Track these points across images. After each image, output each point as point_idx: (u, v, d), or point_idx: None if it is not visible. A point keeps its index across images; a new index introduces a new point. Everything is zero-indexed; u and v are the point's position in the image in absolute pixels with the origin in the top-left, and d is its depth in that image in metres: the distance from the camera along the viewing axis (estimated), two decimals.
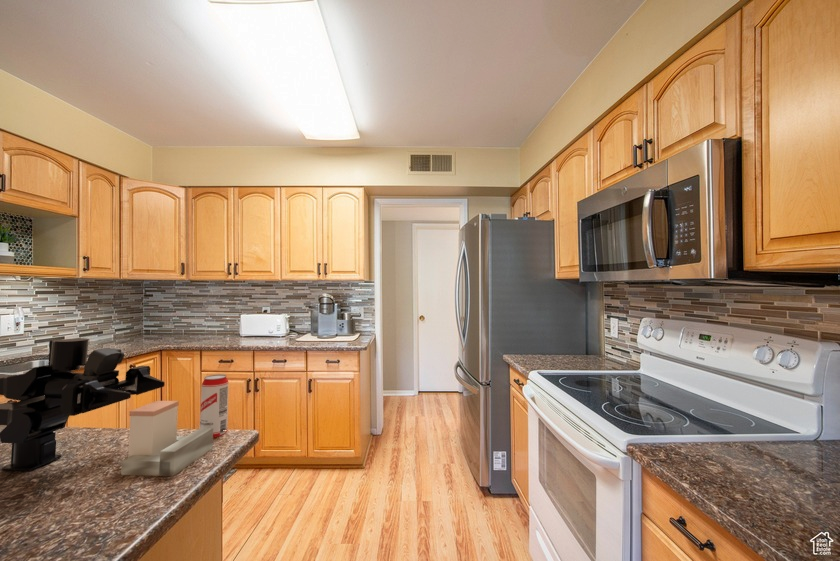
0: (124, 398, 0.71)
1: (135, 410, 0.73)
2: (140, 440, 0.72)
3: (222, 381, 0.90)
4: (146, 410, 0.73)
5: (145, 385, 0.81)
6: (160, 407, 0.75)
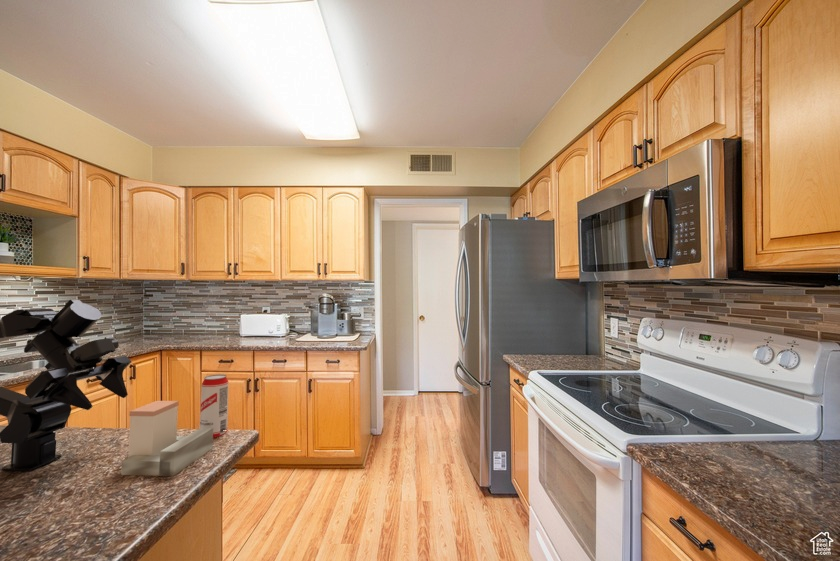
0: (84, 407, 0.71)
1: (135, 410, 0.73)
2: (140, 440, 0.72)
3: (222, 381, 0.90)
4: (146, 410, 0.73)
5: (111, 383, 0.81)
6: (160, 407, 0.75)
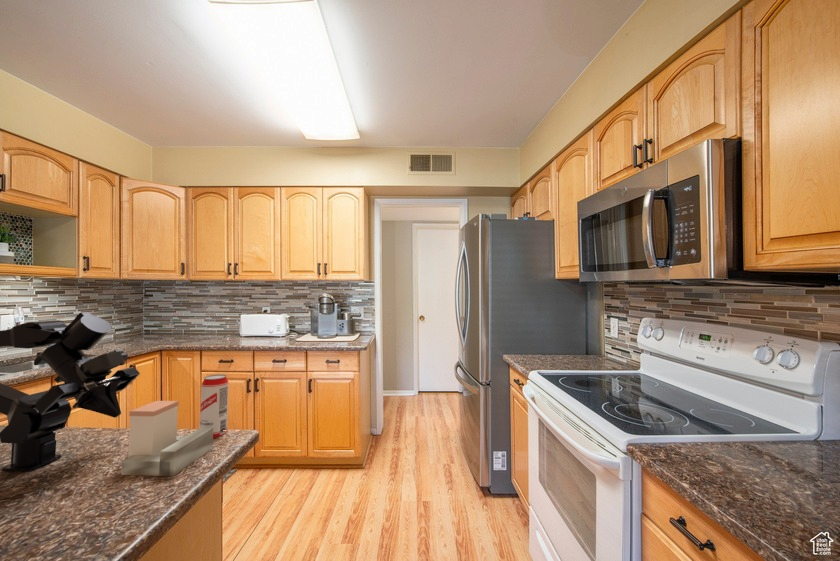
0: (111, 415, 0.75)
1: (135, 410, 0.73)
2: (140, 440, 0.72)
3: (222, 381, 0.90)
4: (146, 410, 0.73)
5: None
6: (160, 407, 0.75)
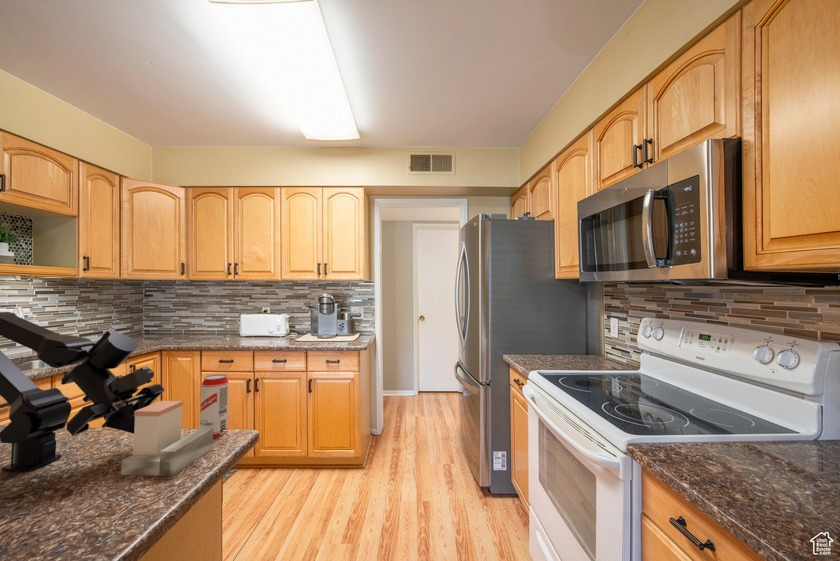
0: None
1: (140, 410, 0.73)
2: (144, 440, 0.72)
3: (222, 381, 0.90)
4: (151, 410, 0.73)
5: None
6: (165, 407, 0.75)
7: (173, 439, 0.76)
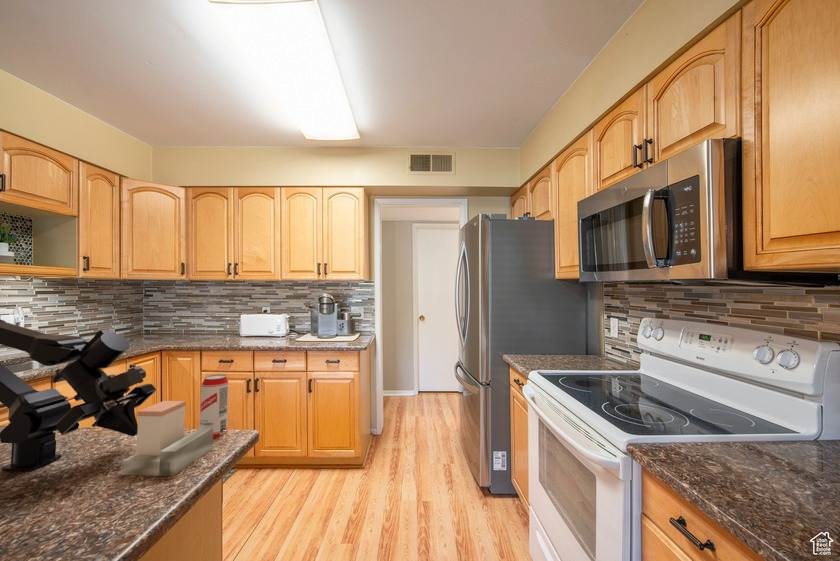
0: (130, 434, 0.75)
1: (143, 410, 0.73)
2: (147, 440, 0.72)
3: (222, 381, 0.90)
4: (154, 410, 0.73)
5: None
6: (168, 407, 0.75)
7: (176, 439, 0.76)
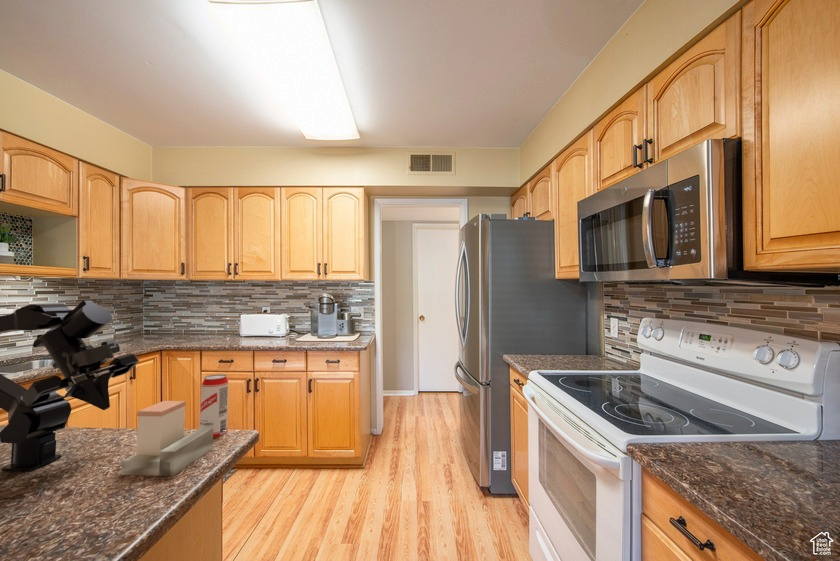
0: (100, 408, 0.75)
1: (143, 410, 0.73)
2: (147, 440, 0.72)
3: (222, 381, 0.90)
4: (154, 410, 0.73)
5: None
6: (168, 407, 0.75)
7: (176, 439, 0.76)
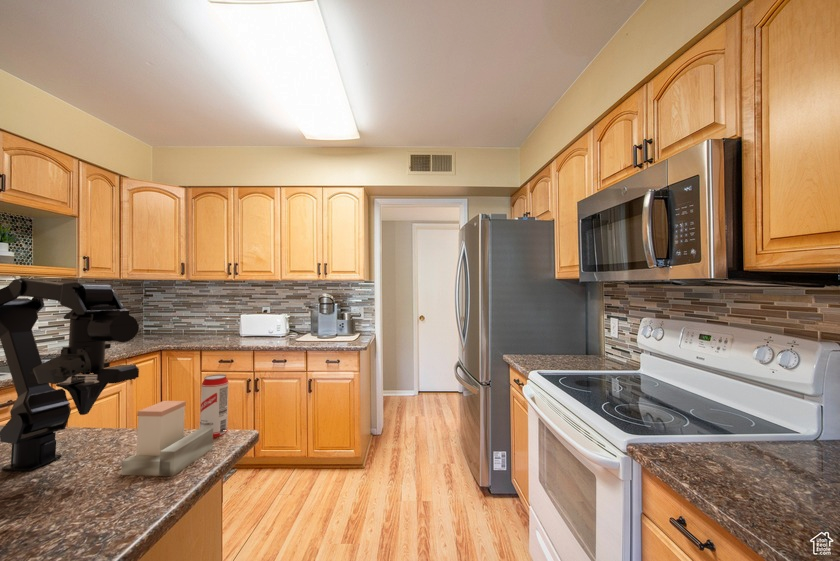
0: None
1: (143, 410, 0.73)
2: (147, 440, 0.72)
3: (222, 381, 0.90)
4: (154, 410, 0.73)
5: None
6: (168, 407, 0.75)
7: (176, 439, 0.76)
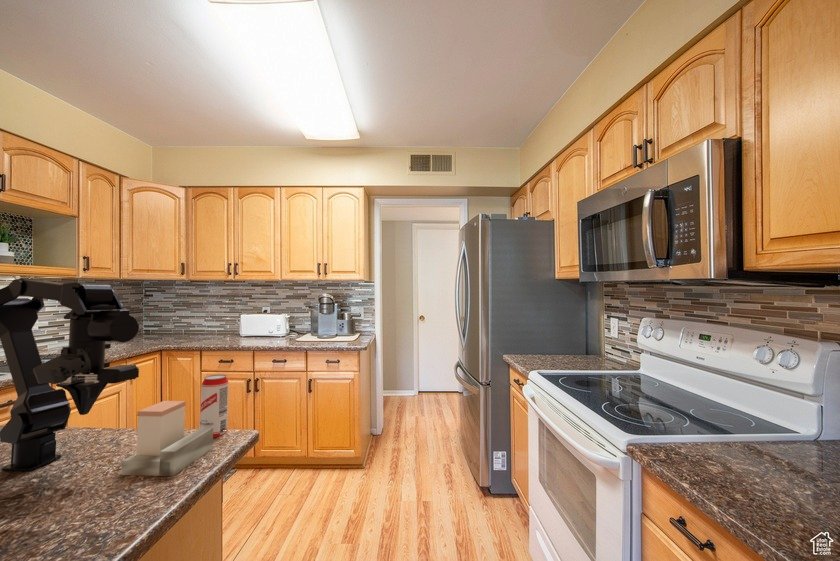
0: None
1: (143, 410, 0.73)
2: (147, 440, 0.72)
3: (222, 381, 0.90)
4: (154, 410, 0.73)
5: None
6: (168, 407, 0.75)
7: (176, 439, 0.76)
